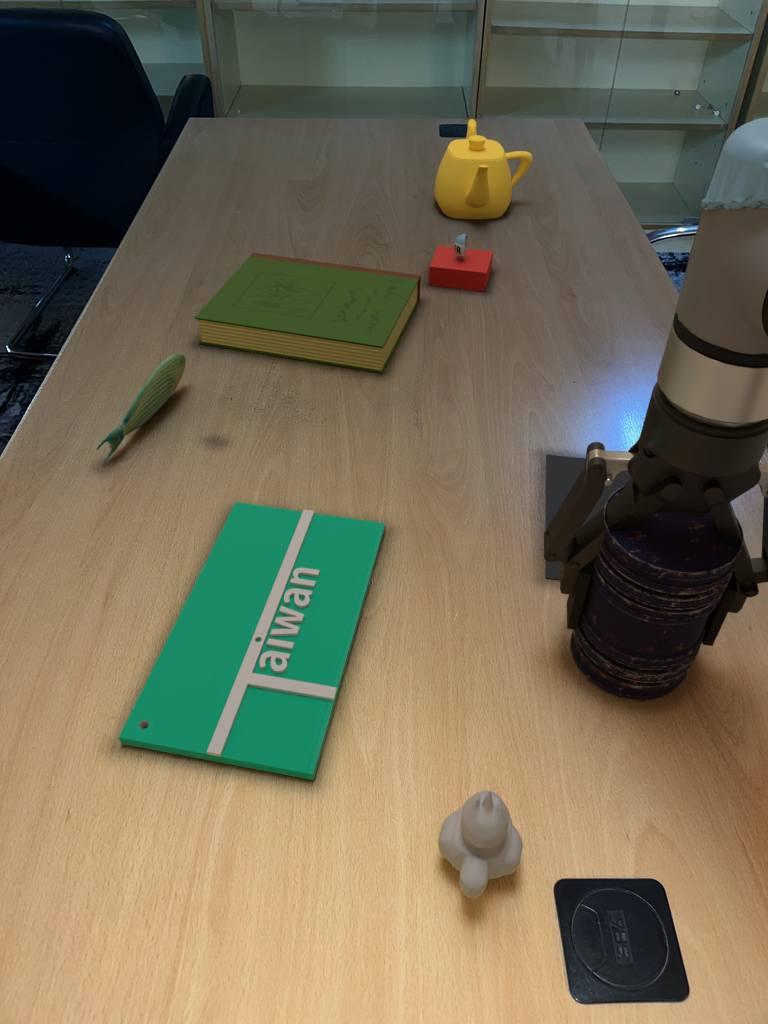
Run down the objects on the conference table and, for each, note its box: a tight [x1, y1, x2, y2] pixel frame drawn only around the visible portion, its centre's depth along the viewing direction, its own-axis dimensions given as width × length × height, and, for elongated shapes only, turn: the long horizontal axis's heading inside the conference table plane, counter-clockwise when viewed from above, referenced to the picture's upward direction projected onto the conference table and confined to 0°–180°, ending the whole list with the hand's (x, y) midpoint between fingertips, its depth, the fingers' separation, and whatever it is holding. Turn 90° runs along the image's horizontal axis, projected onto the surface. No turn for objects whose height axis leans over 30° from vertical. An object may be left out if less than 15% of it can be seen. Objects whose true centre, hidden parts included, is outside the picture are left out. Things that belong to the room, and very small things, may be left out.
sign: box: [118, 501, 386, 781], centre depth 69 cm, size 27×1×15 cm
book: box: [194, 252, 422, 374], centre depth 105 cm, size 25×19×4 cm
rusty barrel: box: [569, 485, 745, 702], centre depth 62 cm, size 10×10×15 cm
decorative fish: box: [96, 352, 219, 466], centre depth 88 cm, size 7×18×10 cm
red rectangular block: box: [428, 233, 494, 292], centre depth 114 cm, size 8×7×6 cm
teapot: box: [433, 118, 534, 220], centre depth 131 cm, size 22×16×11 cm
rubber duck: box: [437, 789, 524, 899], centre depth 52 cm, size 5×7×8 cm
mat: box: [544, 454, 632, 581], centre depth 79 cm, size 18×14×1 cm
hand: (637, 624), depth 65 cm, fingers closed on rusty barrel, 10 cm apart
